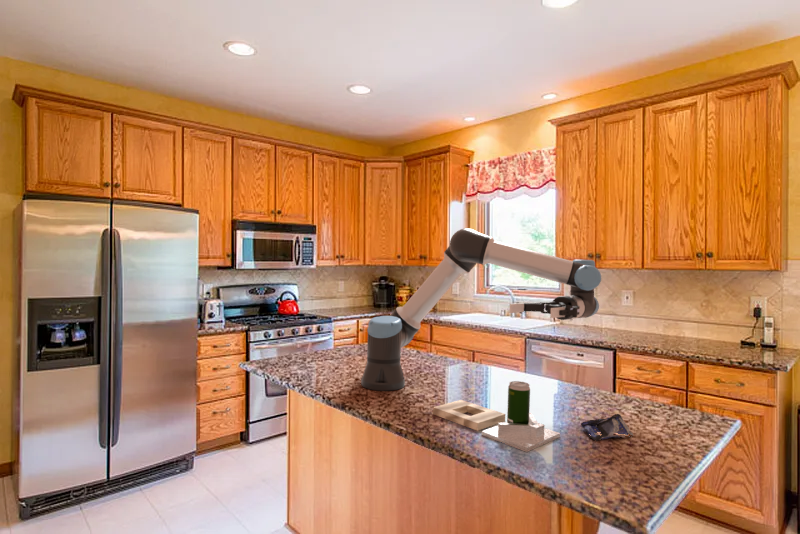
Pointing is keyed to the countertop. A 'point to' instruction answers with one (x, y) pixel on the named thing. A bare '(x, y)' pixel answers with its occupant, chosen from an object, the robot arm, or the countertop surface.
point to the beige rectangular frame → (477, 421)
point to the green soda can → (518, 402)
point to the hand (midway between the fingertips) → (530, 310)
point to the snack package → (606, 427)
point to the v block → (522, 434)
